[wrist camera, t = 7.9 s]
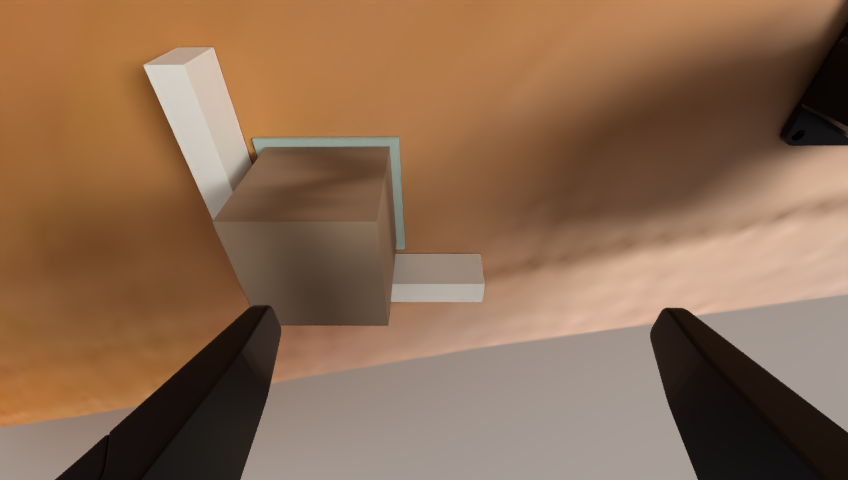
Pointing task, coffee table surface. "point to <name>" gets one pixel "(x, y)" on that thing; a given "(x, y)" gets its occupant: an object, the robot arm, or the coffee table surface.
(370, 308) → the walnut cube
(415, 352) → the coffee table surface
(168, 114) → the white angled bracket
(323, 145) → the pad
